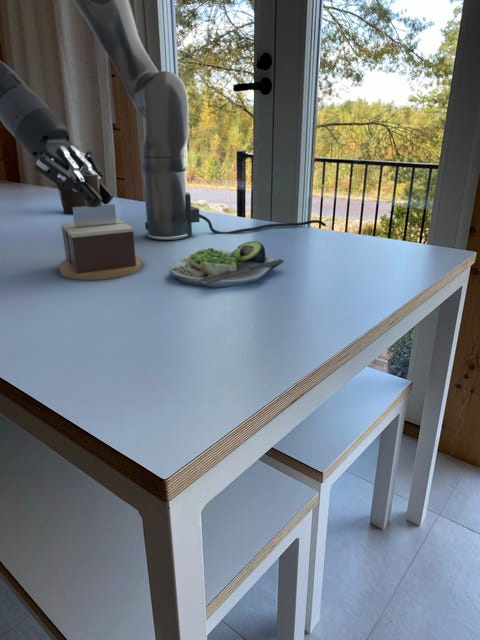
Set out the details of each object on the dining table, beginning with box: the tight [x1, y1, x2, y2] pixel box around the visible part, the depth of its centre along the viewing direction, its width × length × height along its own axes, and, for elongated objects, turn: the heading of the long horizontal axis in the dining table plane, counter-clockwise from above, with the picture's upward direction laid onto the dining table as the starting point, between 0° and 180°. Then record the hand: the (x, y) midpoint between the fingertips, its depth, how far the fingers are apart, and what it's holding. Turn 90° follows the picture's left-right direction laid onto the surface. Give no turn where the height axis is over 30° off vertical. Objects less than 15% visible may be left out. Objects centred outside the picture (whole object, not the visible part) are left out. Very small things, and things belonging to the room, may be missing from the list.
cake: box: [58, 217, 142, 281], centre depth 83 cm, size 14×14×8 cm
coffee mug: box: [56, 175, 86, 216], centre depth 135 cm, size 12×9×10 cm
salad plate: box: [168, 240, 285, 288], centre depth 80 cm, size 19×18×5 cm
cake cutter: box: [72, 174, 117, 228], centre depth 81 cm, size 7×3×12 cm, turn 118°
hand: (103, 201), depth 80 cm, fingers closed
